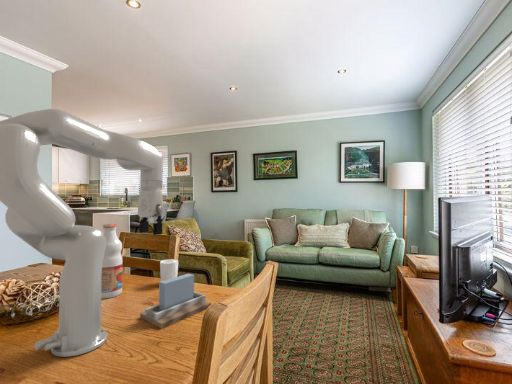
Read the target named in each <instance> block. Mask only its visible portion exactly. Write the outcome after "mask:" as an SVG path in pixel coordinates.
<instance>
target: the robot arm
mask: <svg viewBox="0 0 512 384" xmlns="http://www.w3.org/2000/svg"><path fill="white" fill-rule="evenodd" d="M50 145H57V146H60V147H62V148H65V149H69V150H71V151H74V152H78V153H80V154H83V155H85V156H88V157H92V158H96V159H97V158H98V159H102V160H116V162H117V164H118V165H119V167H120V168H122V169H124V170H128V171H139V172H140V183H139V188H140V189H139V195H138V204H137V206H138V207H137V215H138V221H139V233H148V232H149V226H150V225H149V224H150V223H149V222H150V221H149V218H152V220H153V223H152V225H153V226H152V234H153V236H158V235H162V234H163V223H164V219H165V215H166V210H165V209H164V198H163V197H164V196H163V182H164V181H163V177H164V176H163V174H164V173H163V172H164V169H163V167H164V166H163V165H164V164H163V163H164V157H163V154H162V153H161V152H160V151H158V149H157V148H156V147H155V146H153V145H151V144H149V143H147V142H145V141H143V140H141V139H139V138H136V137H132V136H129V135H125V134H121V133H117V132H114V131H110V130H106V129H103V128H101V127H98V126H97V125H95V124H93V123H90V122H88V121H86V120H84V119H81V118H80V117H78V116H75V115H73V114H72V113H69V112H66V111H65V110H62V109H57V108H47V109H46V108H45V109H41V110H34V111H29V112H25V113H23V114H19V115H16V116H13V117H12V116H11V117H10V118H6V119H3V120H0V202H1V203H2V204H3V205H4V206H6V208H7V209H6V212H5V214H4V217H5V219H4V220H5V223H6V226H7V227H8V229H9V230H10V232H12V233H13V234H14V235H15V236H17V237H18V238H19V239H21V240H22V241H24V243H26V244H27V245H29V246H31V248H32V249H34V250H35V251H37V252H39V253H40V254H42V255H44V256H45V257H47V258H50V259H55V260H61V261H65V262H64V266H63V267H62V269H61V273H60V276H59V282H58V283H59V285H58V289H59V292H58V294H59V295H58V296H59V297H58V298H59V300H58V301H59V302H58V329H56V330H54V334H53V335H51V336H50V337H48V338H45V339H41V340H39V341H36V342H35V343H34V349H35V351H39V350H42V349H44V351H49V350H50V352H51V354H52V355H54V356H55V357H59V358H60V357H63V358H66V357H74V356H79V355H83V354H86V353H89V352H91V351H94V350H95V349H97V348H99V347H100V346H102V345H103V344H104V343H105V342H106V341H107V339H108V331H107V330H106V329H104V328H102V298H101V276H102V262H103V257H104V252H105V248H106V239H105V236H104V234H103V233H104V232H103V231H102V230H100V229H99V228H97V227H94V226H90V225H79V224H75V223H76V215H75V212H74V211H73V208H71V206H69V204H68V203H66V202H65V201H64V200H63V199H62V198H61V197H60V196H59V195H58V194H57V193H56V192H55V191H54V190H53V189H52V188H51V187H50V186H49V185H48V184H47V183H46V182H45V181H44V180H43V179H42V177H41V175H40V173H39V170H38V159H39V155H40V150H41V147H42V146H50Z"/></svg>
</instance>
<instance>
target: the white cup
mask: <svg viewBox="0 0 512 384" xmlns="http://www.w3.org/2000/svg"><path fill="white" fill-rule="evenodd" d="M159 268H160V270H159V271H160V272H159V273H160V282H161V281H164V280H168V279H171V278H175V277H178V274H179V273H178V271H179V259H173V258H171V259H170V258H169V259H162V260H161V261H159Z"/></svg>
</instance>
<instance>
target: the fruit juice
mask: <svg viewBox="0 0 512 384" xmlns="http://www.w3.org/2000/svg"><path fill="white" fill-rule="evenodd" d="M102 230H103V232H102V233H103V234H104V236H105V239H106V248H105V252H104V257H103V262H102V276H101V299H111V298H115V297H117V296H120V295H121V294H122V292H123V256H122V249H123V242H122V241H121V240H120V239H119V238H118V235H117V231H116V230H117V224H114V223H110V224H103V225H102Z"/></svg>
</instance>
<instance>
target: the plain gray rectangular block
mask: <svg viewBox="0 0 512 384" xmlns="http://www.w3.org/2000/svg"><path fill="white" fill-rule="evenodd" d="M158 284H159V285H158V286H159V287H158V288H159V289H158V290H159V291H158V298H159V299H158V304H159V312H160V311H163V310H165V309H168V308H171V307H173V306H176V305H179V304H181V303H184V302H186V301H189V300H192V299H194V292H195V274H191V273H186V274H182V275H179V276H178V275H177V277H175V278H171V279H168V280H164V281H161V280H160V281H159V283H158Z"/></svg>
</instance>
